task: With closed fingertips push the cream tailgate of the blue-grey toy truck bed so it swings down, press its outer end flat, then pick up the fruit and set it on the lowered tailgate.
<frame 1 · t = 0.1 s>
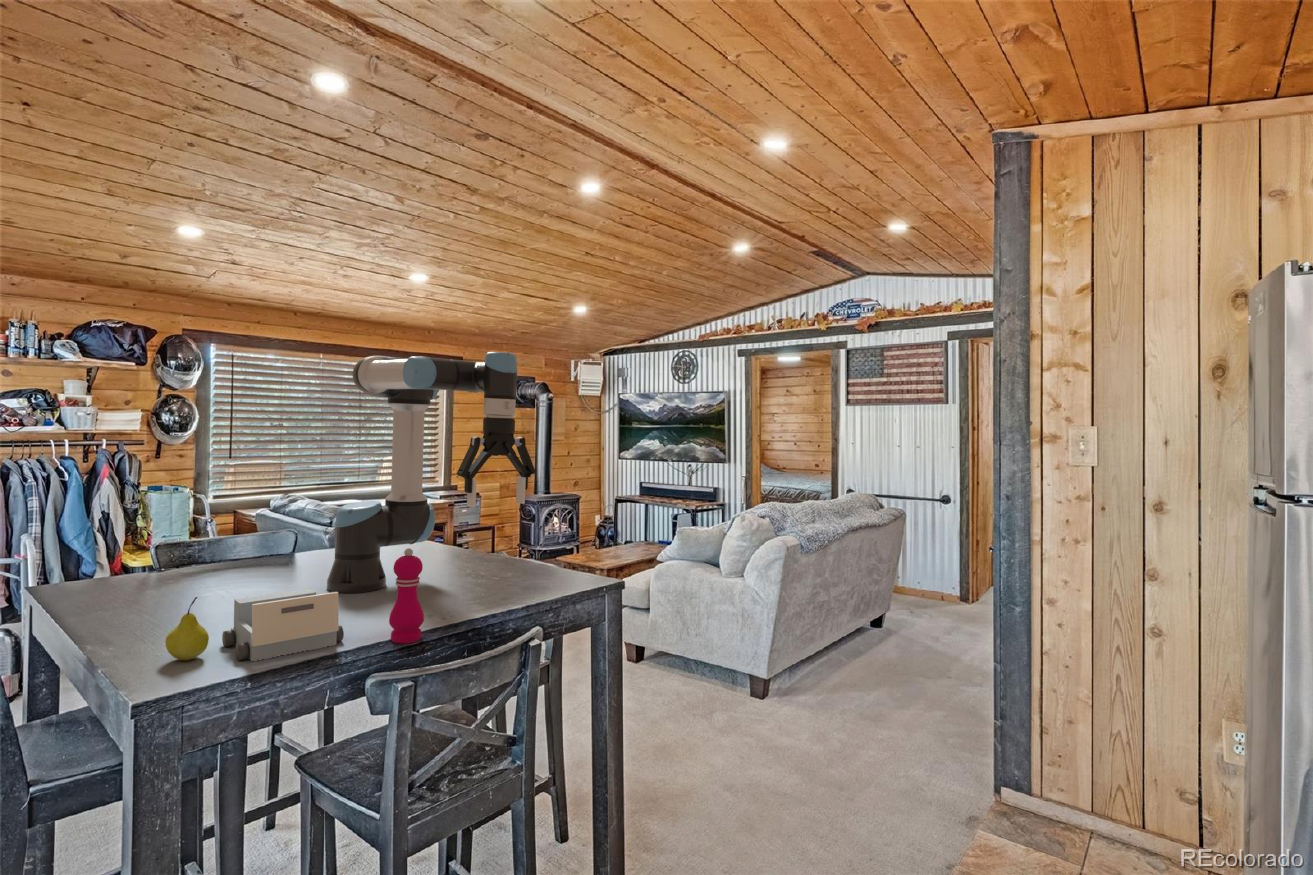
hand: (496, 505, 168), 28 cm above the table, fingers open, 13 cm apart
truck bed: (283, 643, 147), on the table
tailgate: (297, 618, 141), point 7 cm above the table, hinge at -4.0°
pepper mill: (406, 639, 153), on the table
fruit: (186, 660, 136), on the table
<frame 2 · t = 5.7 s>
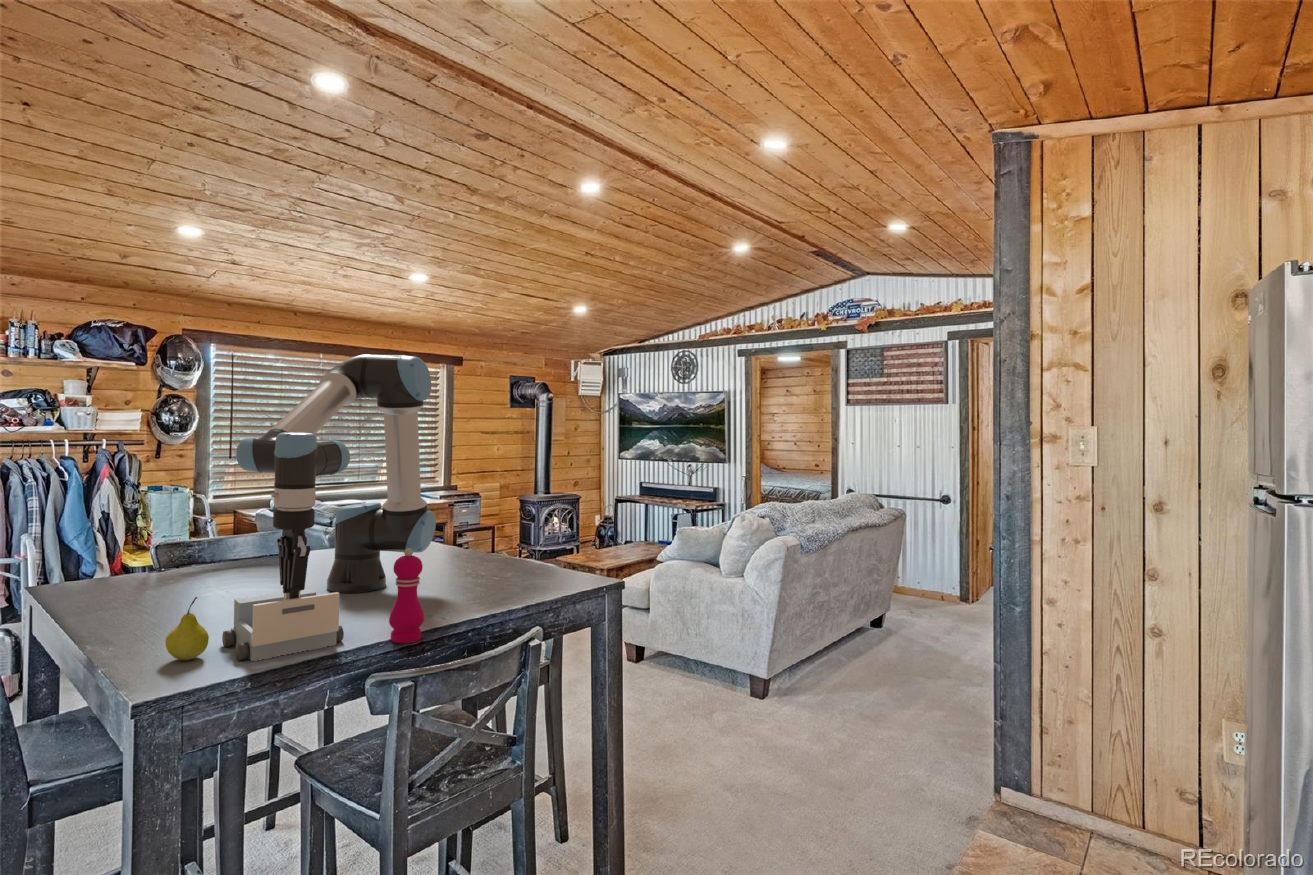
hand: (291, 622, 143), 6 cm above the table, fingers closed
tailgate: (297, 618, 141), point 7 cm above the table, hinge at 0.5°, touching gripper
everything else where it was.
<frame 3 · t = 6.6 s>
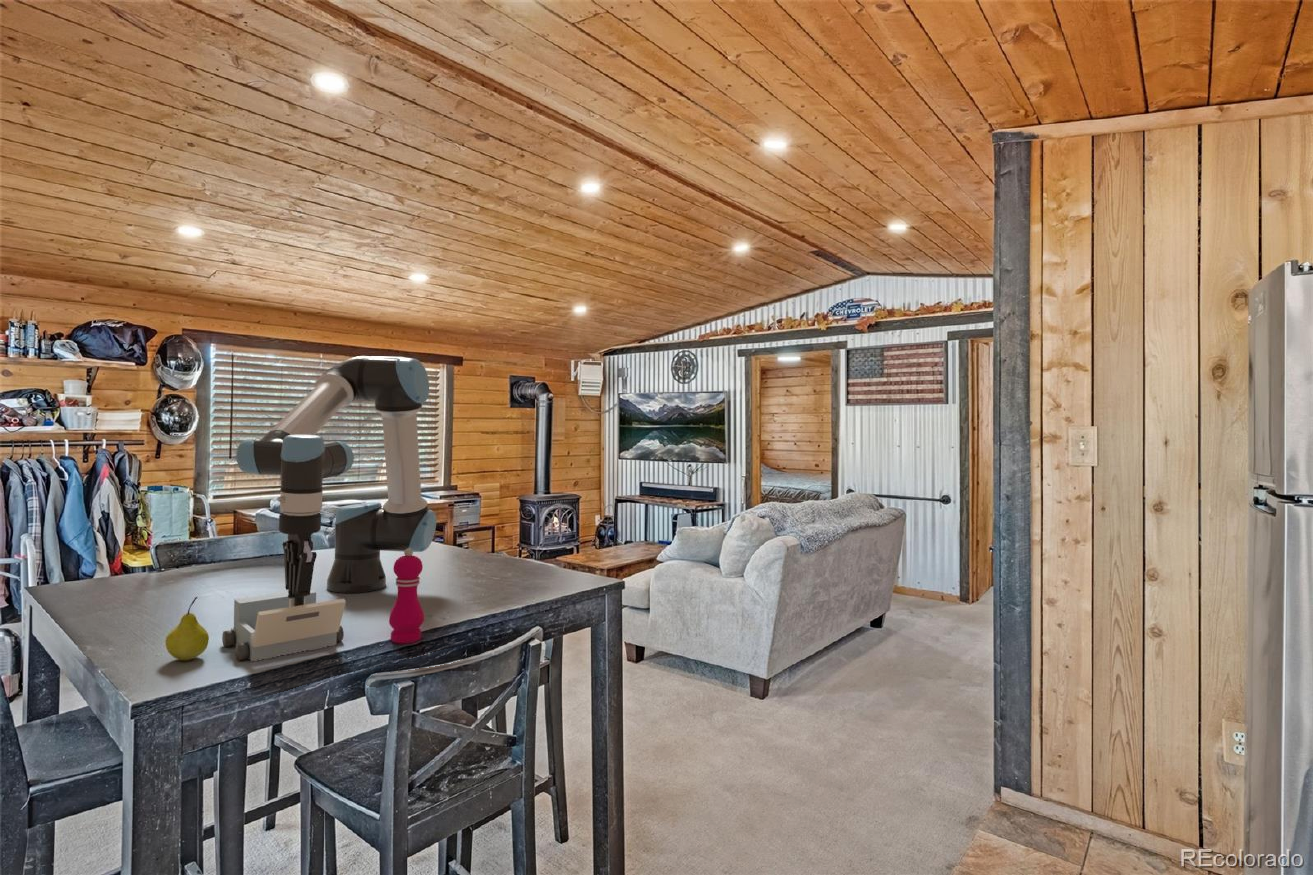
hand: (296, 627, 141), 5 cm above the table, fingers closed
tailgate: (300, 622, 140), point 7 cm above the table, hinge at 26.4°, touching gripper
everything else where it was.
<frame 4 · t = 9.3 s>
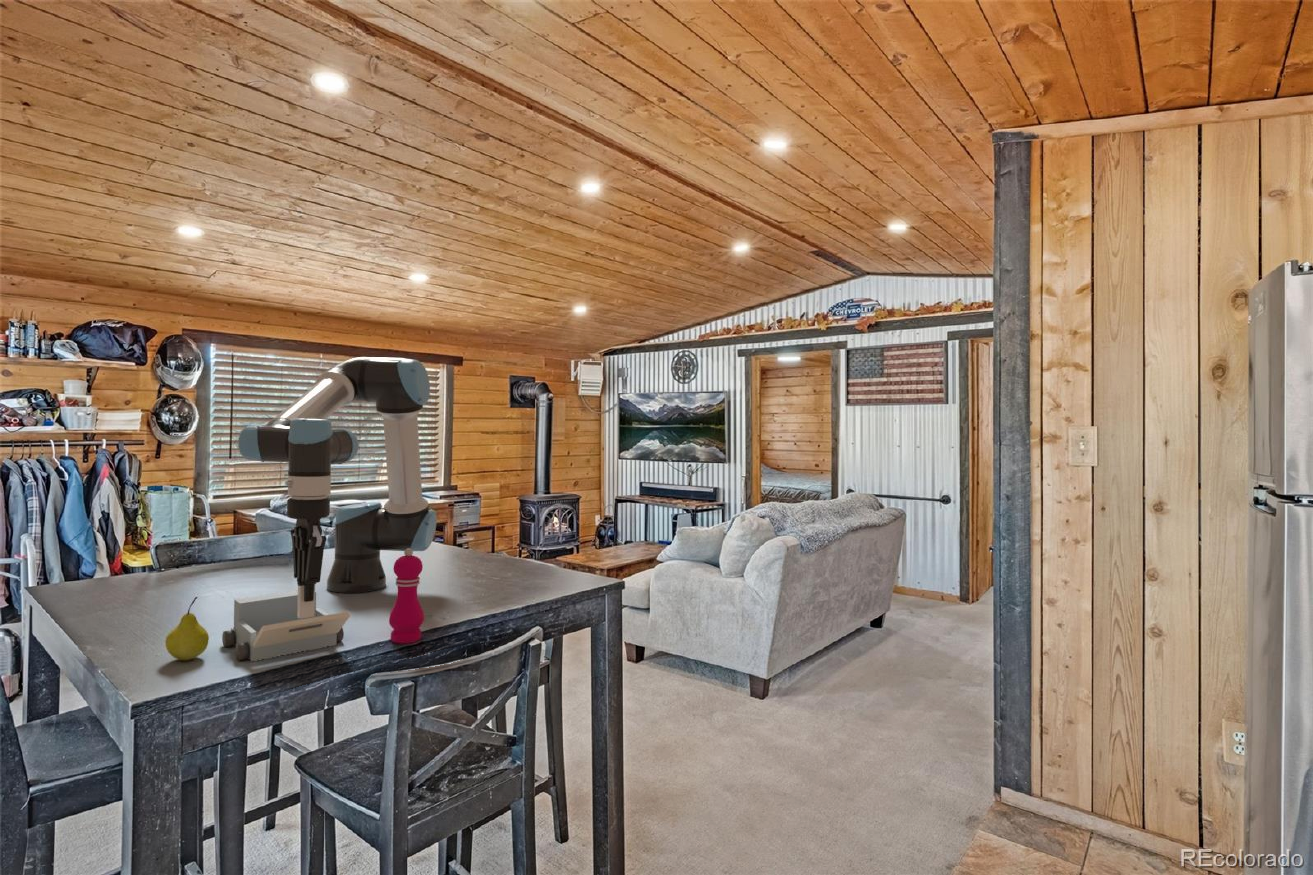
hand: (305, 616, 137), 9 cm above the table, fingers closed
tailgate: (302, 629, 139), point 6 cm above the table, hinge at 51.4°, touching gripper
everything else where it was.
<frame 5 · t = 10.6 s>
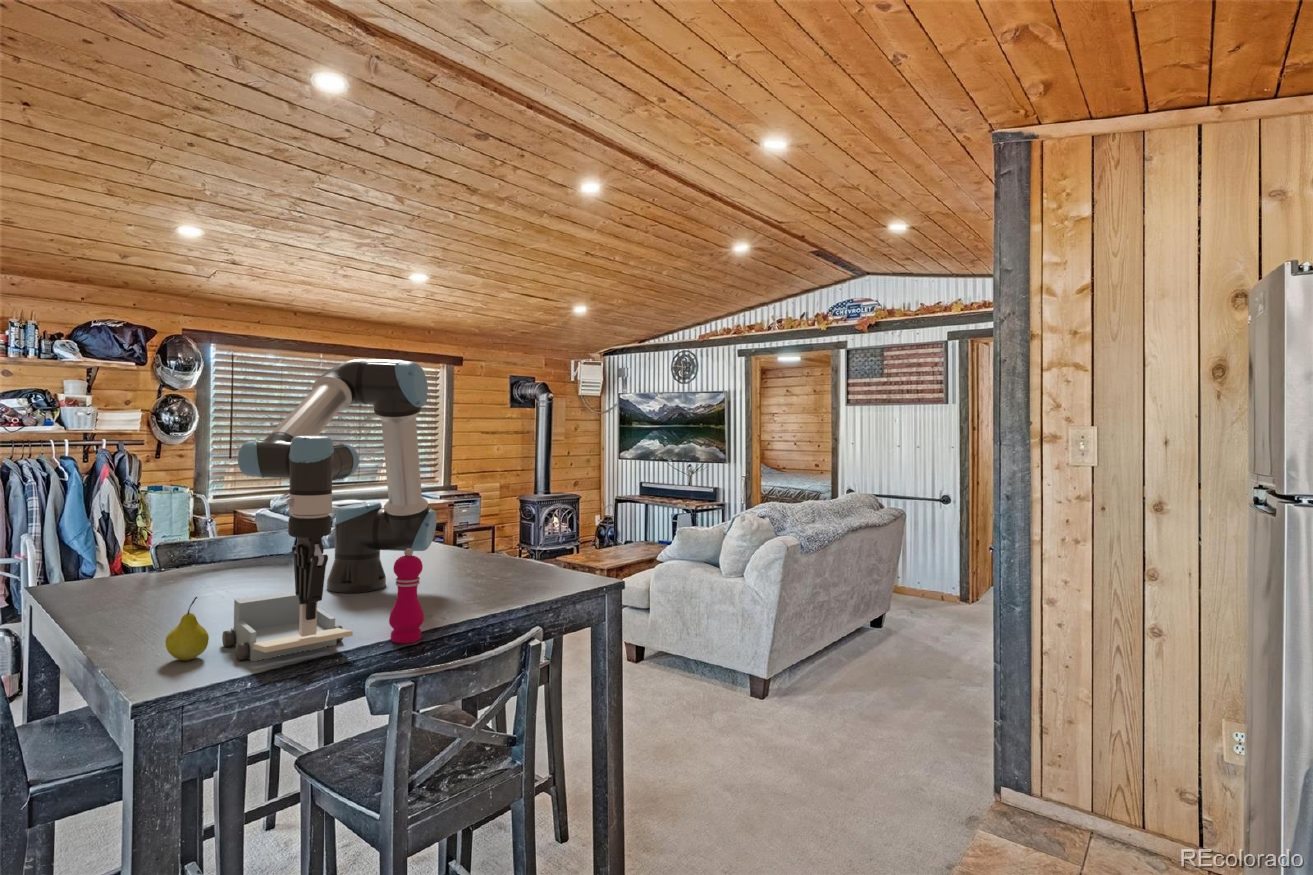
hand: (307, 634, 137), 5 cm above the table, fingers closed
tailgate: (303, 640, 139), point 4 cm above the table, hinge at 80.3°
everything else where it was.
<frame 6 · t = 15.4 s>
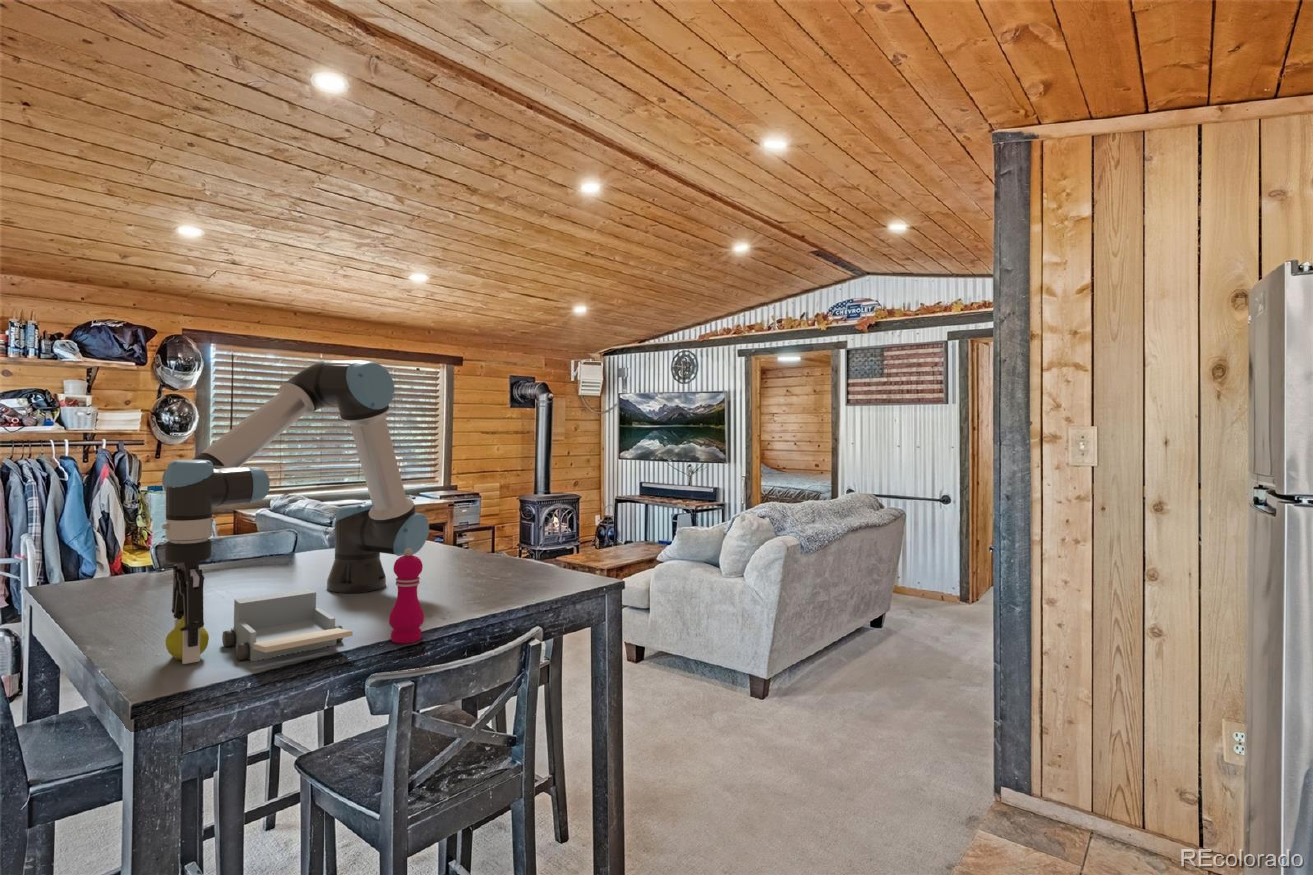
hand: (186, 656, 136), 1 cm above the table, fingers closed on fruit, 7 cm apart
fruit: (186, 660, 136), on the table, touching gripper
everything else where it was.
when the fingers open (6 cm above the table, at t = 20.2 s): fruit drops 1 cm, resting on tailgate.
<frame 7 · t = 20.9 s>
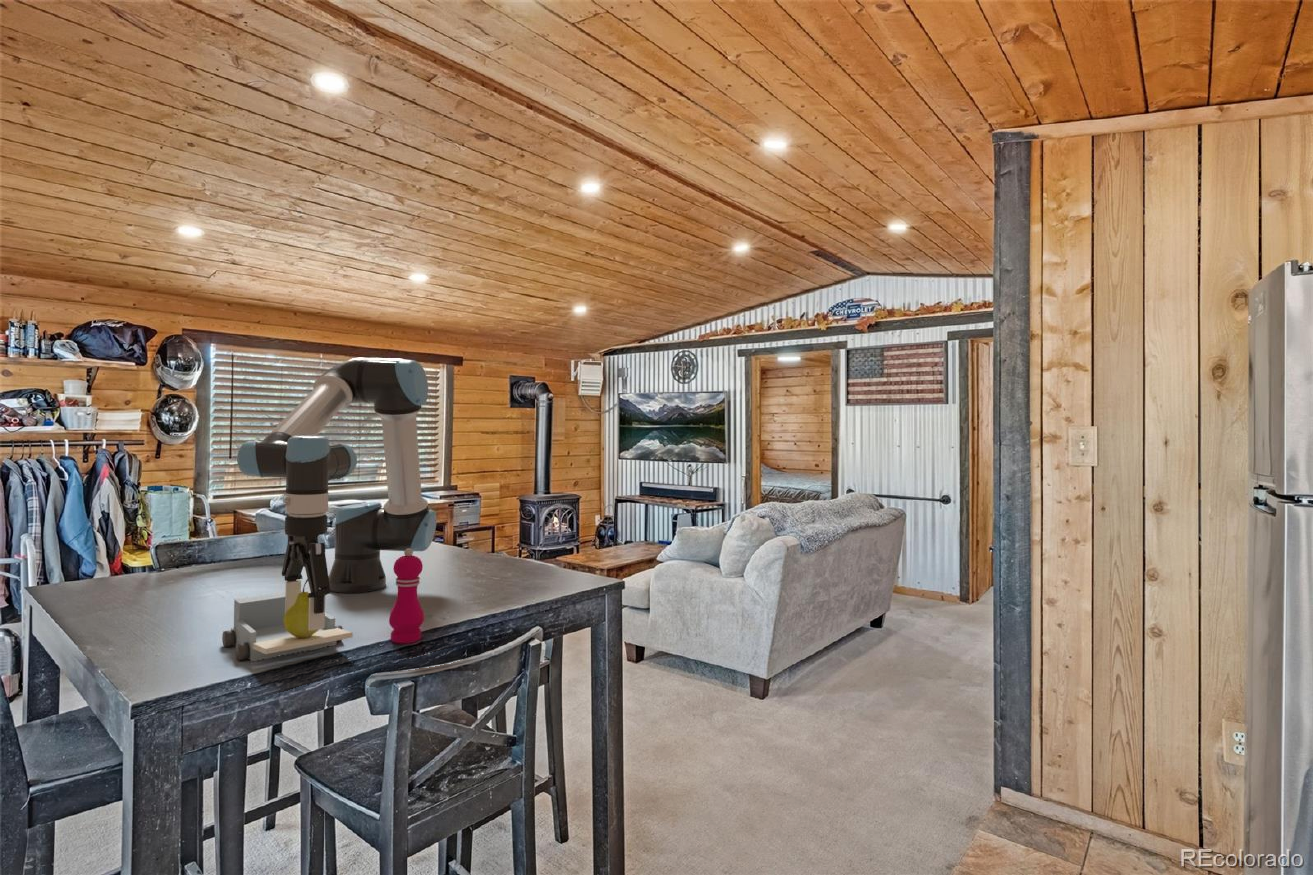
hand: (304, 621, 138), 8 cm above the table, fingers open, 13 cm apart
tailgate: (303, 640, 139), point 4 cm above the table, hinge at 82.4°, touching fruit
fruit: (303, 638, 139), point 4 cm above the table, touching tailgate
everything else where it was.
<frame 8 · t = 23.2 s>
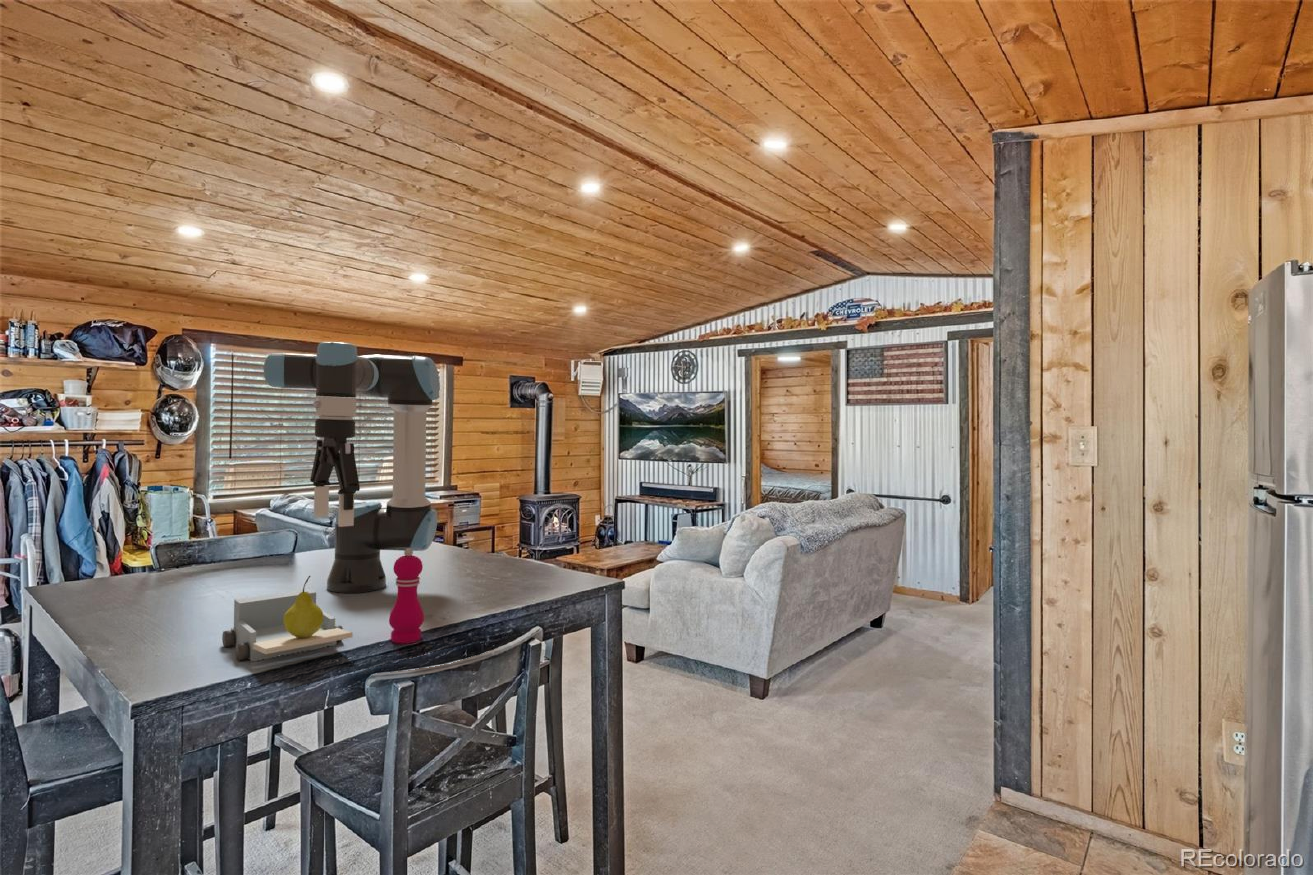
hand: (333, 521, 144), 27 cm above the table, fingers open, 13 cm apart
nothing on the table moved.
at the end: tailgate at +82° (first picture: -4°); the gripper is holding nothing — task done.
